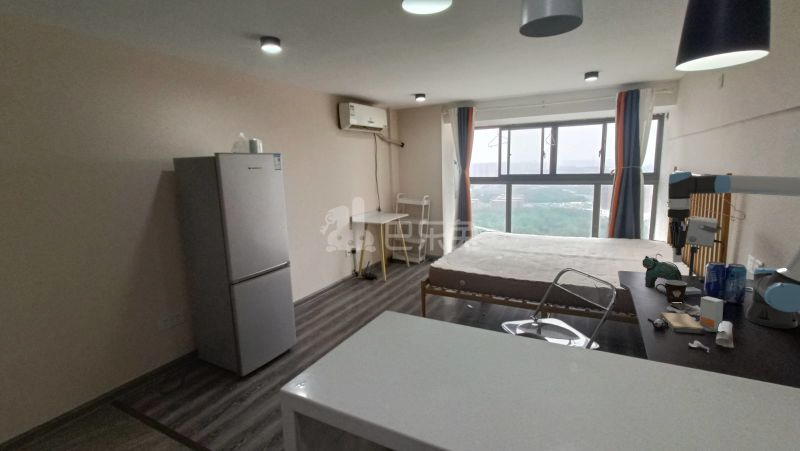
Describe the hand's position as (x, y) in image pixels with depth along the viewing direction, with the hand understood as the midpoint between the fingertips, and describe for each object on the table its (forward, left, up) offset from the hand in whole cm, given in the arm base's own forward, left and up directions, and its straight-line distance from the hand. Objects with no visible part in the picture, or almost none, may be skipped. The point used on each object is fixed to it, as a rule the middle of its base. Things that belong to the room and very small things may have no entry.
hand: (677, 261), depth 153 cm
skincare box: (-10, +7, -26) cm, 29 cm away
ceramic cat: (-9, -44, -27) cm, 52 cm away
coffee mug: (-7, -25, -27) cm, 37 cm away
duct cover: (0, +6, -25) cm, 25 cm away
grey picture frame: (0, +6, -26) cm, 27 cm away
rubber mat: (-10, +7, -26) cm, 29 cm away
